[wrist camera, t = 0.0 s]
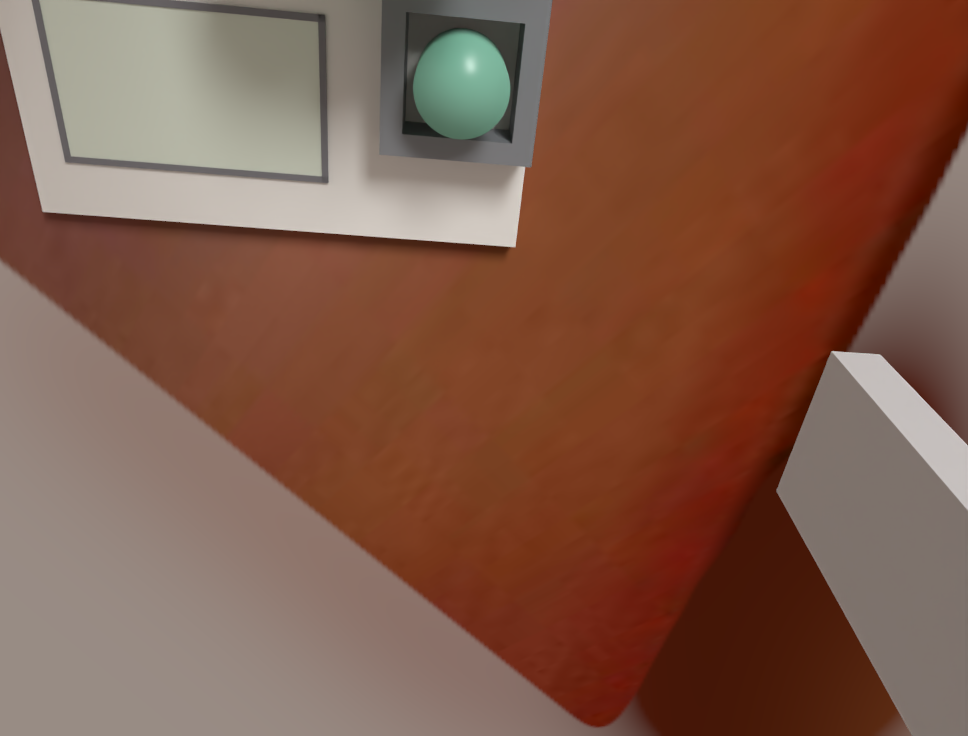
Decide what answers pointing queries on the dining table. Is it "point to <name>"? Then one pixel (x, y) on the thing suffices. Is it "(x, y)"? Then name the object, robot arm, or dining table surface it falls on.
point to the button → (461, 84)
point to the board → (270, 113)
